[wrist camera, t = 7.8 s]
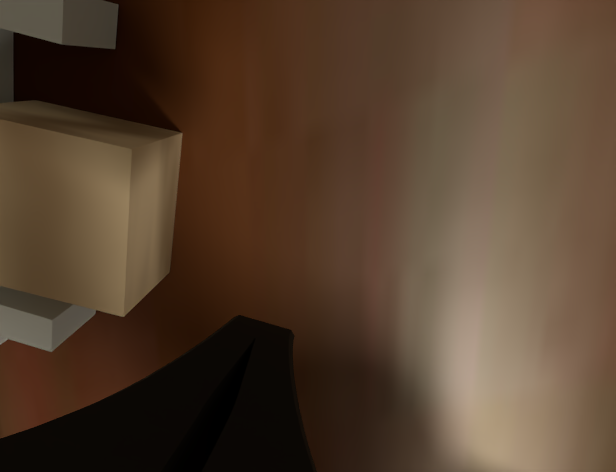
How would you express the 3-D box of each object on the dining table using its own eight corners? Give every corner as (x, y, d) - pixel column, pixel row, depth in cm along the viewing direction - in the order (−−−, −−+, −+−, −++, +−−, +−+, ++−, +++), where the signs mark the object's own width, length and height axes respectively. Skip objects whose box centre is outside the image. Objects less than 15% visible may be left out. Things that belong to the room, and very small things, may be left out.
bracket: (124, -78, 15) (67, -112, 12) (92, 358, 22) (49, 400, 19) (-29, -116, 15) (-119, -158, 12) (-15, 325, 22) (-73, 363, 19)
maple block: (184, 132, 17) (131, 149, 14) (171, 270, 20) (123, 316, 16) (39, 99, 18) (-51, 107, 14) (42, 238, 20) (-35, 276, 16)
